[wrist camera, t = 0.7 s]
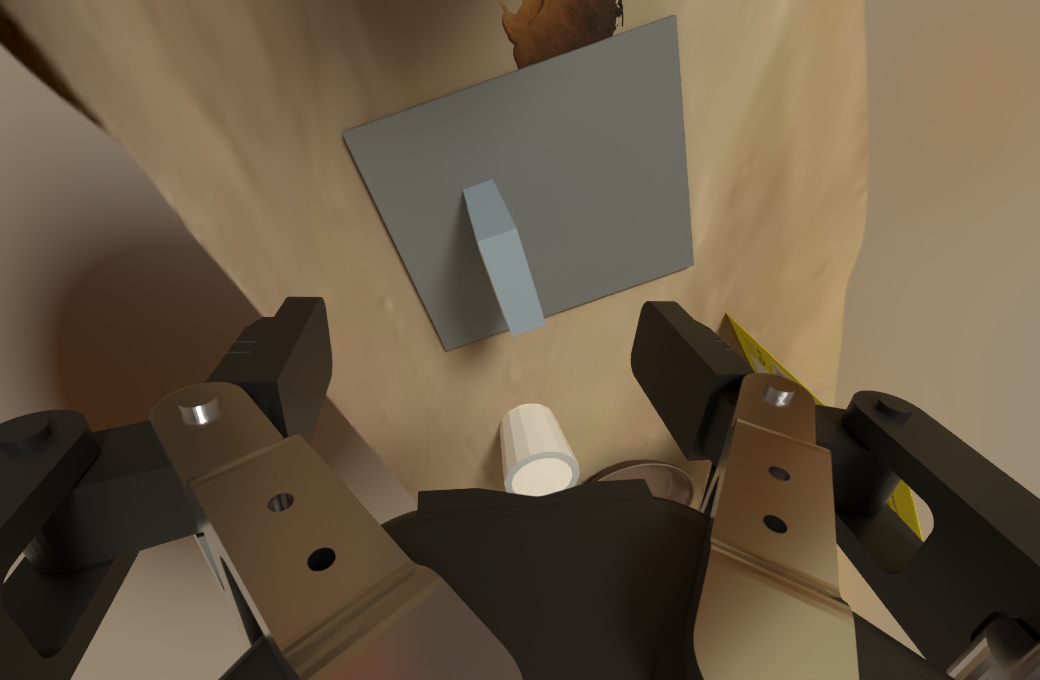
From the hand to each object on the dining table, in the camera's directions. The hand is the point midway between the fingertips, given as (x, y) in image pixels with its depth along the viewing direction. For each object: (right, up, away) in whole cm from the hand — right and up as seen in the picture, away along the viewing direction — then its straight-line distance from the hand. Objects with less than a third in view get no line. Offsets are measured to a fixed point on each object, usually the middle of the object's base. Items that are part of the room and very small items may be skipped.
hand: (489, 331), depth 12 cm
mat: (+2, +10, +23) cm, 25 cm away
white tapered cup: (+1, -9, +35) cm, 37 cm away
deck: (-1, +8, +23) cm, 24 cm away
